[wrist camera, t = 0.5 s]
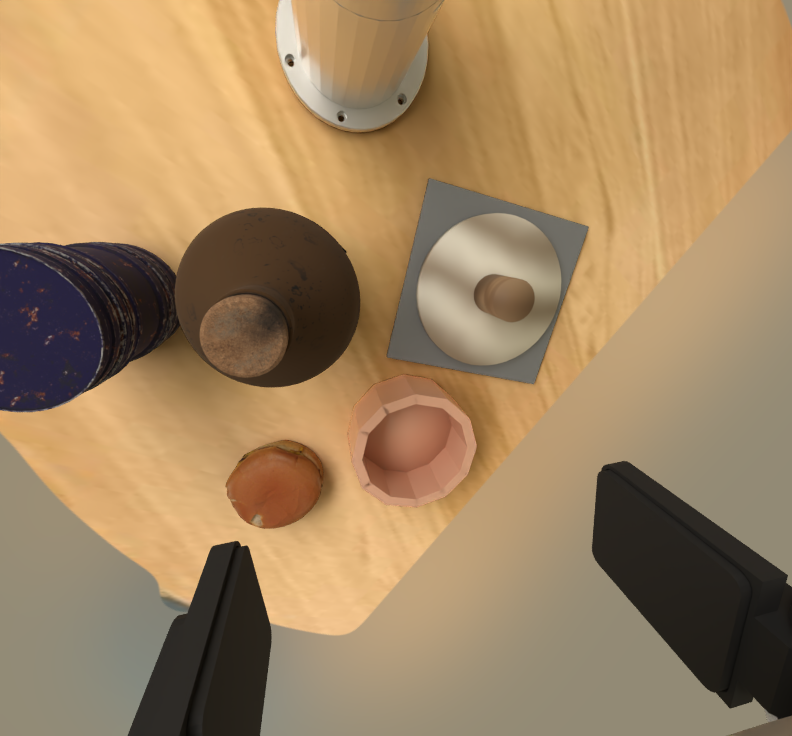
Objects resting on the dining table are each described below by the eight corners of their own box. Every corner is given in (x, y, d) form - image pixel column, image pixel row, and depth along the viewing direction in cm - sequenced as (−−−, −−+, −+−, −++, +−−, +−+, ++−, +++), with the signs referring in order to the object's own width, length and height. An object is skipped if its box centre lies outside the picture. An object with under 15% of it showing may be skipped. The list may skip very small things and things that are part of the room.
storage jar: (206, 285, 37) (137, 312, 23) (155, 368, 38) (61, 441, 24) (97, 217, 34) (-61, 201, 20) (46, 311, 35) (-135, 357, 21)
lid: (438, 195, 38) (459, 187, 32) (575, 235, 41) (616, 234, 36) (400, 348, 42) (413, 366, 36) (528, 372, 46) (558, 392, 40)
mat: (428, 179, 38) (429, 178, 37) (585, 226, 42) (588, 226, 41) (386, 356, 42) (387, 357, 42) (531, 382, 47) (533, 384, 46)
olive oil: (332, 341, 41) (349, 478, 17) (225, 318, 38) (74, 442, 15) (356, 238, 38) (414, 235, 15) (242, 205, 35) (92, 138, 12)
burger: (330, 444, 45) (331, 467, 40) (312, 513, 47) (310, 541, 43) (240, 429, 42) (230, 451, 38) (225, 501, 44) (214, 530, 40)
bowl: (362, 367, 42) (368, 386, 37) (468, 385, 45) (490, 406, 40) (339, 468, 45) (342, 500, 40) (440, 479, 48) (456, 511, 43)
